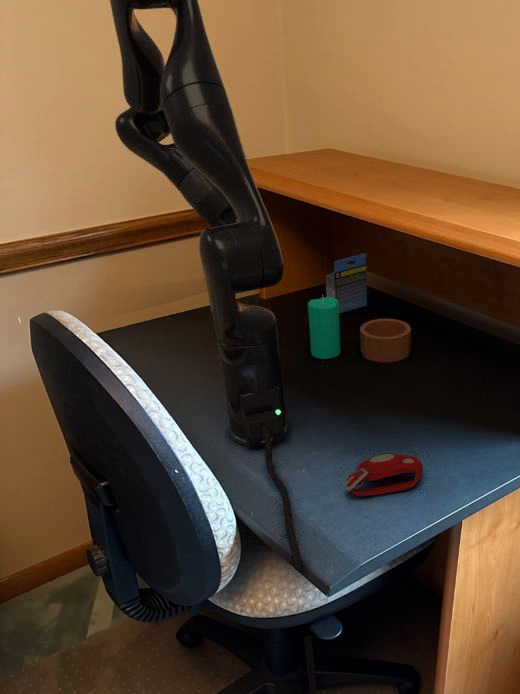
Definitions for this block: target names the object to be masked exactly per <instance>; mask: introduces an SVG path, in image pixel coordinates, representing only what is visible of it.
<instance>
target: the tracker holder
mask: <svg viewBox="0 0 520 694" xmlns="http://www.w3.org/2000/svg"><path fill="white" fill-rule="evenodd" d="M356 470H357V472H354V473H352V474H349V476H348V477H347V478H346V480H345V483H344V484H343V488H344V489H346V490H347V492H350V493H351V494H352V495H354V496H358V497H365V496H366V497H369V496H378V495H384V494H389V493H394V492H400V491H401V492H402V491H406V490H410V489H411V488H413V487H414V486H416V484H417V483H418V482H419V481H420V479H421V477H422V475H423V471H424V468H423V463H422V461H421V459H419V458H418V457H416V456H413V455H408V454H400V453H399V454H397V453H387V452H386V453H379V454H376V455H373V456H371V457H369V458H368V459H365V460H363V461H361V462H360V463H359V464H358V465H357V466H356ZM407 473H410V474H411V473H412V474H415V477H414V479H412V480H409V481H404V482H399V483H393V484H388V485H382V486H376V487H371V488H365V489H355V487H361V486H362V485H363V484H364V482H373V481H377V480H378V481H379V480H382V479H385V478H386V479H387V478H390V477H393V476H397V475H401V474H407Z"/></svg>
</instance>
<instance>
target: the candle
mask: <svg viewBox="0 0 520 694" xmlns="http://www.w3.org/2000/svg"><path fill="white" fill-rule="evenodd" d="M321 296H322V297H320V298H318V299H317V298H315V299H310V300H309V301H308V302H307V312H308V313H307V314H308V326H309V342H310V353H311V356H312V357H314V358H316V359H322V360H325V359H334V358H336V357H338V356H339V355H340V354H341V333H340V332H341V331H340V330H341V329H340V314H339V306H338V300H337V299H335V298H333V297H327V296H324V294H322V295H321Z"/></svg>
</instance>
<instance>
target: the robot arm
mask: <svg viewBox="0 0 520 694" xmlns="http://www.w3.org/2000/svg"><path fill="white" fill-rule="evenodd" d="M109 3H110V9H111V14H112V19H113V24H114V30H115V34H116V37H117V42H118V46H119V52H120V58H121V70H122V71H121V74H122V88H123V89H122V90H123V95H124V99H125V102H126V103H127V105H128V106H129V107H128V108H127V109H126V110H124V111H122V112H121V113H120V114H119V115H117V117H116V119H115V124H114V125H115V126H114V127H115V132H116V135H117V136H118V139H119V140H120V141H121V143H122V144H123V146H125V147H126V148H127V150H128V151H130V152H131V153H133V154H134V155H136V156H137V157H138V158H140V159H141V160H143V161H145V162H146V163H147V164H150V165H151V166H152V167H154V169H156V170H158V171H159V172H161V174H163V175H164V176H165V177H166V178H167V179H168V181H170V183H171V184H172V185H173V186H174V187H175V188H176V189H177V190H178V191H179V193H180V194H181V195H182V197H183V199H184V200H185V201H186V202H187V203H188V205H189V206H190V207H191V208H192V209H193V210H194V211H195V212H196V213H197V215H199V216H200V218H201V219H202V220H203V221H204V222H205V223H206V224H207V225H208V227H206V228H204V229H203V230H202V231H201V233H200V235H199V240H198V249H199V257H200V263H201V267H202V272H203V273H202V274H203V278H204V281H205V285H206V290H207V296H208V300H209V306H210V307H209V308H210V312H211V318H212V322H213V327H214V332H215V338H216V346H217V352H218V358H219V365H220V371H221V378H222V383H223V388H224V389H223V390H224V397H225V403H226V409H227V415H228V420H229V422H228V423H229V432H230V436H231V439H232V440H233V441H234V442H235V443H238V444H240V445H243V446H246V447H247V448H248V449H249V450H251V449H255V448H259V447H263V446H265V447H264V448H265V456H264V457H265V459H264V460H265V466H266V470H267V473H268V475H269V477H270V478H271V480H272V482H273V484H274V485H275V487H276V488H277V489H278V491H279V494H280V497H281V500H282V505H283V515H284V516H283V517H284V525H285V530H286V531H285V532H286V536H287V541H288V544H289V547H290V551H291V557H292V562H293V568H294V569H295V570H296V571H300V570H302V569H303V563H302V559H301V553H300V549H299V544H298V542H297V541H298V540H297V537H296V534H295V530H294V524H293V517H292V508H291V501H290V496H289V493H288V489H287V488H286V485H284V483H283V482H282V480H281V478H279V476H278V475H277V473H276V470H275V467H274V463H273V444H276V443H280V442H284V441H286V436H287V433H288V429H289V427H288V420H287V416H286V415H287V413H286V405H285V396H284V395H285V394H284V386H283V385H284V384H283V374H282V364H281V363H282V362H281V354H280V343H279V334H278V333H279V332H278V324H277V318H276V315H275V314H274V313H273V312H272V311H271V310H270V309H267V308H265V307H262V306H258V305H253V304H246V303H242V302H240V301H238V300H237V297H236V295H237V294H241V293H246V292H253V291H257V290H259V289H260V290H261V289H265V288H269V287H273V286H276V285H278V284H280V282H281V281H282V280H283V277H284V258H283V250H282V249H281V246H280V243H279V239H278V236H277V233H276V232H275V231H276V230H275V229H274V226H273V224H272V221H271V218H270V216H269V213H268V211H267V208H266V206H265V203H264V202H263V201H264V200H263V199H262V196H261V194H260V191H259V189H258V186H257V184H256V182H255V179H254V176H253V174H252V171H251V168H250V165H249V162H248V159H247V155H246V152H245V150H244V146H243V143H242V139H241V136H240V133H239V130H238V129H239V128H238V125H237V121H236V119H235V116H234V112H233V108H232V106H231V103H230V100H229V97H228V93H227V90H226V88H225V85H224V82H223V79H222V76H221V74H220V71H219V67H218V66H217V62H216V58H215V56H214V53H213V50H212V47H211V44H210V41H209V38H208V34H207V31H206V27H205V24H204V21H203V16H202V12H201V8H200V4H199V0H109ZM157 9H158V10H159V9H170V10H171V11H172V12H173V15H174V18H175V30H174V35H173V36H174V37H173V39H172V45H171V49H170V51H169V54H168V57H167V59H166V60H165V57H164V56H163V53H162V51H161V49H160V48H159V46H158V45H157V44H156V42H155V40H153V38H152V37H151V36H150V34H148V33H147V31H146V30H145V29H144V28H143V26H142V25H141V24H140V21H139V20H138V18H137V16H136V14H135V10H136V11H137V10H139V11H143V10H144V11H145V10H157ZM165 61H166V62H165ZM169 136H171V138H172V143H168V144H163V143H160V142H162V141H163V140H164V139H166V138H168V137H169ZM303 643H304V652H305V660H306V669H307V679H308V688H309V689H308V690H309V694H318V689H317V680H316V670H315V669H316V668H315V660H314V652H313V651H314V649H313V641H312V634H309V635H307V636H304V637H303Z"/></svg>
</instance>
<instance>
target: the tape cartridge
mask: <svg viewBox="0 0 520 694" xmlns="http://www.w3.org/2000/svg"><path fill="white" fill-rule="evenodd" d="M350 262H351V264H348V263H350ZM352 262H354V263H352ZM346 264H347V265H346ZM367 284H368V283H367V253H366V252H364V253H360V254H357V255H353V256H348V257H345V258H340V259H337V260H334V261H333V272H331V273H328V274H326V275H325V290H326V291H325V292H326V297H333V298H335V299H337V300H338V306H339V315H341V314H345V313H347V312H350V311H353V310H356V309H360V308H363V307H366V306H368V290H367V287H368V285H367Z"/></svg>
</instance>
